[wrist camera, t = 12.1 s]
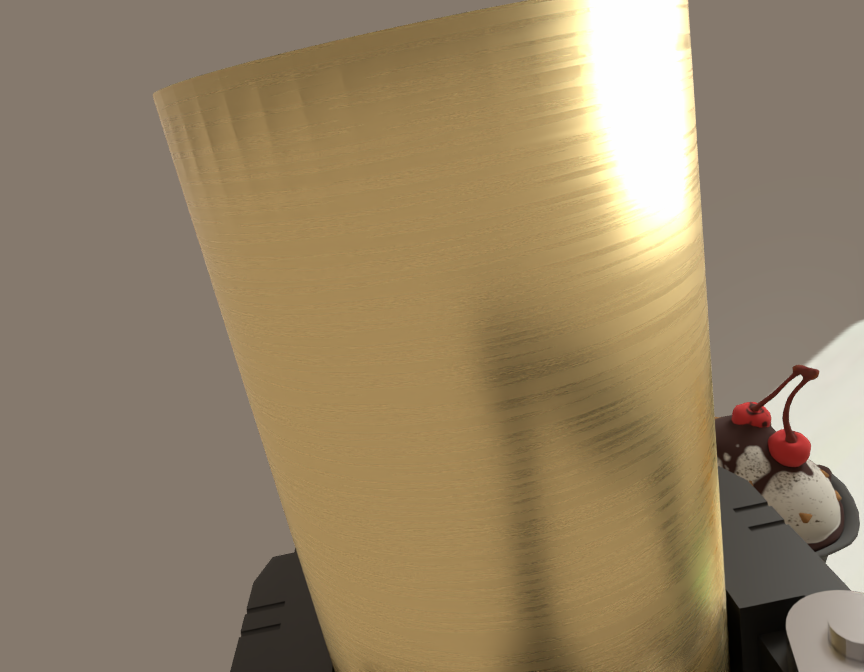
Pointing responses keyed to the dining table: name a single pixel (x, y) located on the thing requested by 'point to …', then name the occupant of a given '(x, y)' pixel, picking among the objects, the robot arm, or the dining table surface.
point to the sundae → (788, 472)
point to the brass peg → (476, 332)
